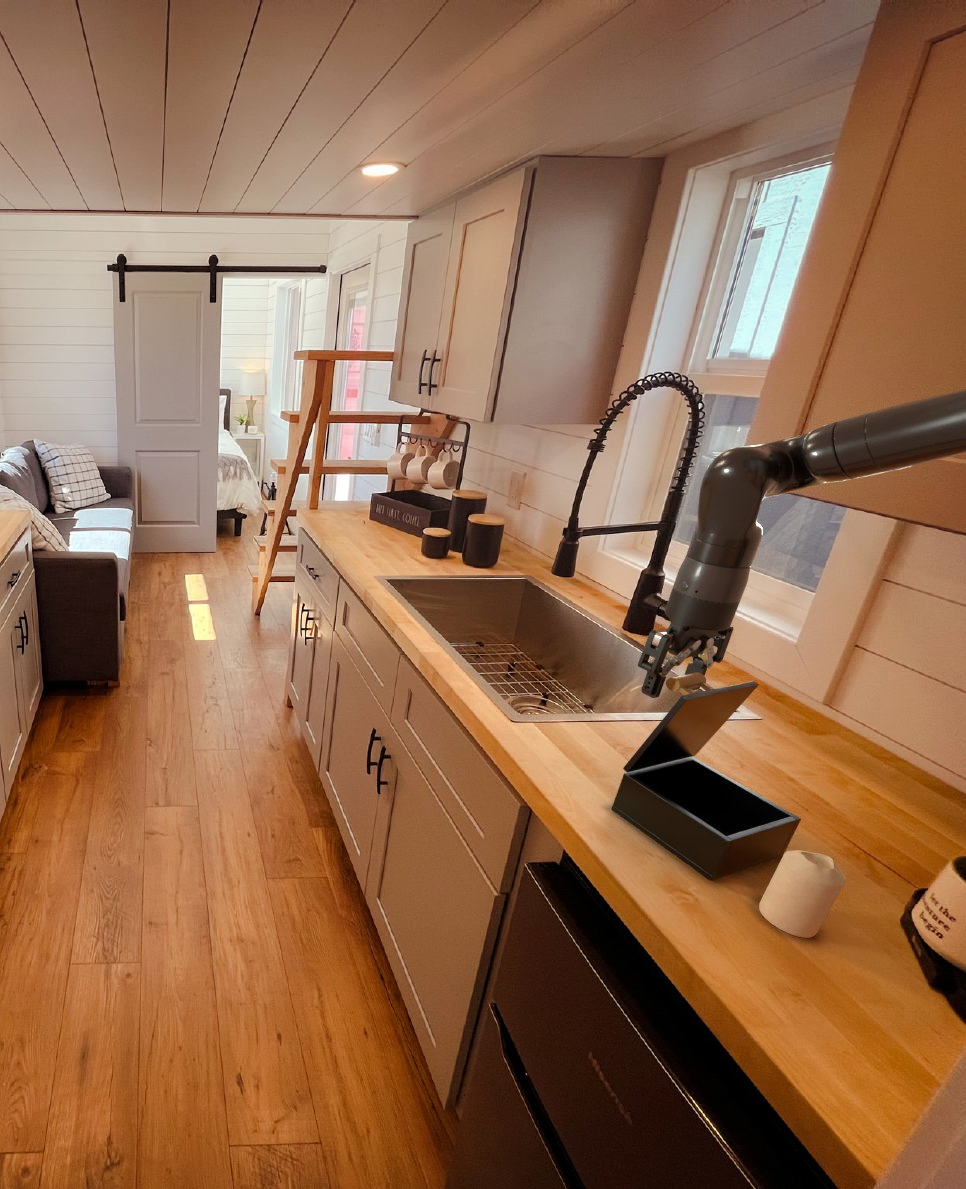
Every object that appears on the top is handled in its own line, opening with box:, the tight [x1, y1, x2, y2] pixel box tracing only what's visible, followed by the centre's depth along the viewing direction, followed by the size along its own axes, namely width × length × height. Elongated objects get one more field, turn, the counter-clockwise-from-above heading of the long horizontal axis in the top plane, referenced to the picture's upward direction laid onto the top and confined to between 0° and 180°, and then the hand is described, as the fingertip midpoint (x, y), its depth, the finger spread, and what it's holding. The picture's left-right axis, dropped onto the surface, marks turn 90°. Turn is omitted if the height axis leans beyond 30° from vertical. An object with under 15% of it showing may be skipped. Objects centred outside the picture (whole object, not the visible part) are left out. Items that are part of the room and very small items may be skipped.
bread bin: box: [610, 756, 802, 882], centre depth 93 cm, size 15×15×7 cm
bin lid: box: [622, 673, 760, 773], centre depth 95 cm, size 16×15×5 cm
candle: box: [758, 849, 847, 939], centre depth 78 cm, size 6×6×10 cm
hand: (669, 691), depth 95 cm, fingers open, 8 cm apart
